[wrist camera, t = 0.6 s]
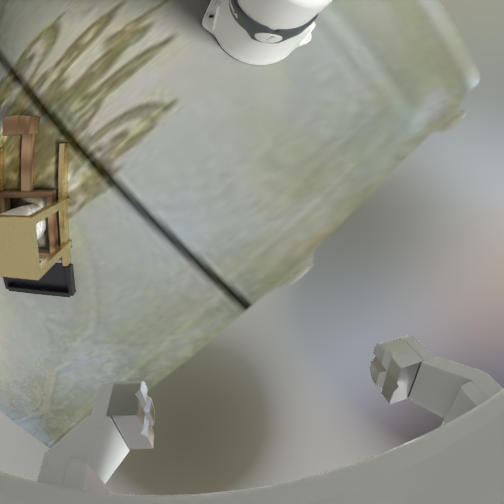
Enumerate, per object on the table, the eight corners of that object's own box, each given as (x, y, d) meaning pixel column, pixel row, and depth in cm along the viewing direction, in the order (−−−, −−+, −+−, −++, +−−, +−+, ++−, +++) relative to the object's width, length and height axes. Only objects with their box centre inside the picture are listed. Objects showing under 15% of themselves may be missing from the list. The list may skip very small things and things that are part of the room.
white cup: (13, 233, 46) (-13, 250, 37) (21, 194, 44) (-7, 206, 35) (44, 248, 48) (20, 268, 39) (54, 209, 47) (28, 223, 37)
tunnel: (-2, 148, 40) (-49, 155, 27) (71, 143, 44) (31, 145, 30) (9, 286, 49) (-26, 322, 35) (76, 293, 52) (49, 335, 39)
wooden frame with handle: (8, 121, 39) (-16, 120, 31) (60, 115, 41) (40, 112, 34) (11, 251, 47) (-9, 266, 39) (60, 254, 49) (43, 271, 42)
